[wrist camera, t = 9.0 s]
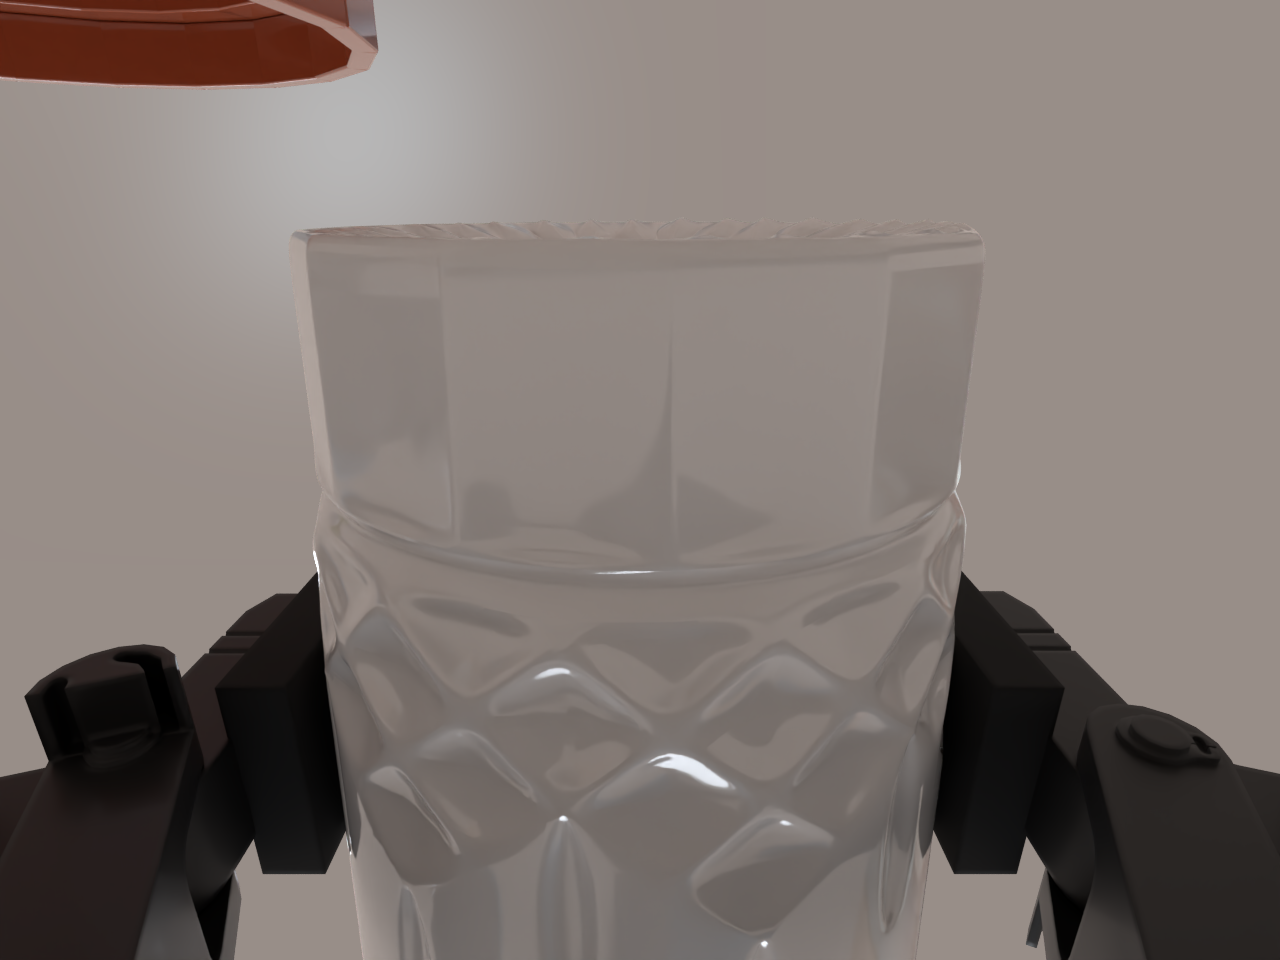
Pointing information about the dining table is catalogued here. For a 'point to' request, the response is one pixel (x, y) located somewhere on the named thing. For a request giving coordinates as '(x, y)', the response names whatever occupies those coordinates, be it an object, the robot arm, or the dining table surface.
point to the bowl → (185, 42)
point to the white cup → (638, 578)
